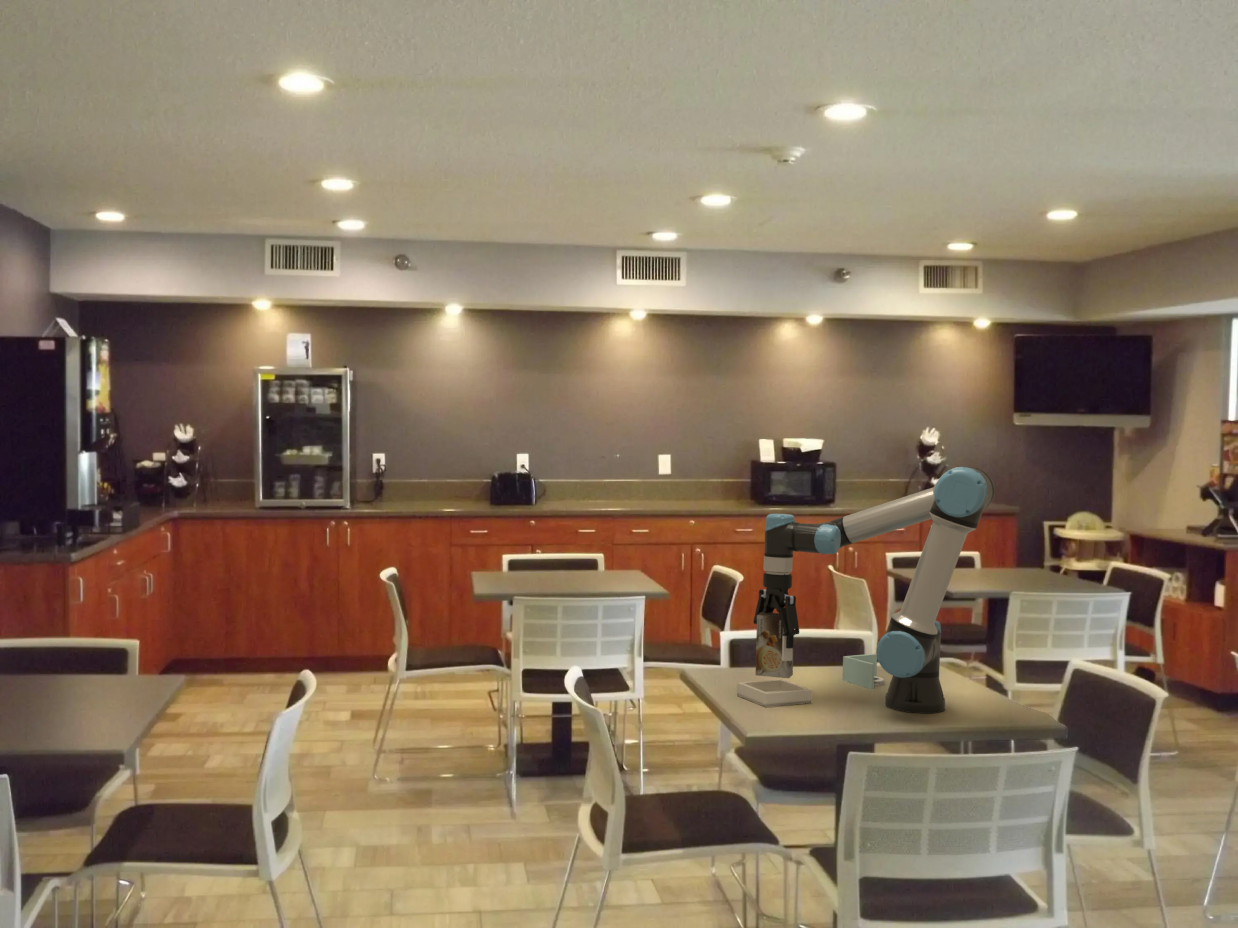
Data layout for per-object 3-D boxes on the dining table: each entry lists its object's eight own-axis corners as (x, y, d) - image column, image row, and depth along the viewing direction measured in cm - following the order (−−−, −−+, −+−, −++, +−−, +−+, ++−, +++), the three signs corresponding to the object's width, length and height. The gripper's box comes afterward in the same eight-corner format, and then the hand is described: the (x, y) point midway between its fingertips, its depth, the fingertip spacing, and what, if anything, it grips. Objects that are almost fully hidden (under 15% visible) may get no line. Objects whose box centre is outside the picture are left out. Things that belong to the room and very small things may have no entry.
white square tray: (811, 703, 295) (811, 689, 294) (765, 707, 288) (766, 693, 288) (781, 691, 307) (781, 679, 307) (736, 695, 301) (737, 682, 301)
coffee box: (793, 674, 299) (796, 614, 299) (788, 679, 293) (791, 617, 293) (759, 671, 302) (761, 611, 302) (754, 675, 296) (756, 614, 296)
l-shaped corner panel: (871, 690, 315) (872, 664, 315) (842, 682, 325) (843, 656, 325) (903, 687, 321) (904, 661, 321) (873, 679, 331) (874, 653, 331)
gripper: (815, 577, 288) (812, 663, 289) (765, 567, 309) (762, 647, 310) (791, 578, 285) (787, 665, 286) (742, 567, 306) (739, 649, 306)
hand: (774, 656), depth 298 cm, fingers closed on coffee box, 11 cm apart
